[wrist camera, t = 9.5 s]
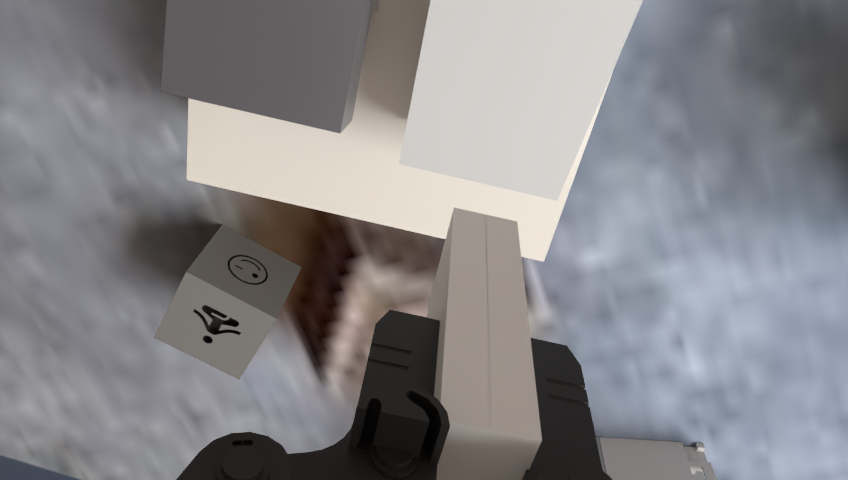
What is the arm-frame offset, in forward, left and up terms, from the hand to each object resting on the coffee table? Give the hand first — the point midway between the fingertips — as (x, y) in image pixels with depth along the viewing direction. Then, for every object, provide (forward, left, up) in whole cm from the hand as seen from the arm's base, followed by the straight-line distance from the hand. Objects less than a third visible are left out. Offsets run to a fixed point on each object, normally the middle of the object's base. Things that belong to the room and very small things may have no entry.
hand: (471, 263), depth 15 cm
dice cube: (-10, -15, -18) cm, 25 cm away
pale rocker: (+1, +4, -10) cm, 11 cm away
